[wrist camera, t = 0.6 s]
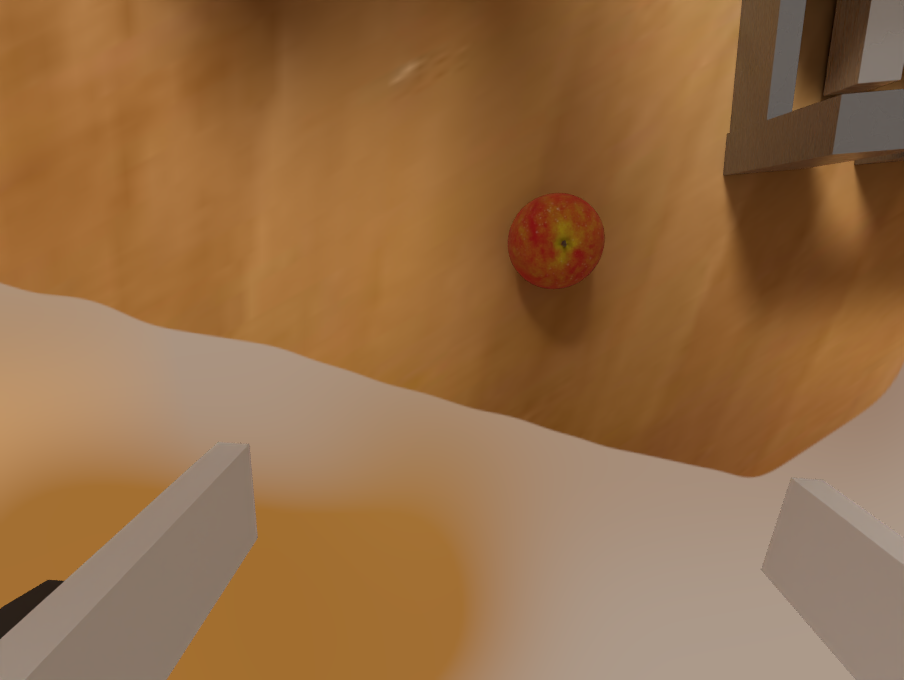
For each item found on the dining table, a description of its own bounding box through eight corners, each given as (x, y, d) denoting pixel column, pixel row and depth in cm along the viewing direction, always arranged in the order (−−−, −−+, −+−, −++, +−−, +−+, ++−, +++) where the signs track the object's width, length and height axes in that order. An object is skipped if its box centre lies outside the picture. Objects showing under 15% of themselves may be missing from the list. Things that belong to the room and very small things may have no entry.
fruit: (604, 221, 34) (645, 219, 26) (560, 296, 36) (587, 315, 28) (529, 180, 33) (549, 167, 26) (488, 259, 35) (496, 268, 27)
